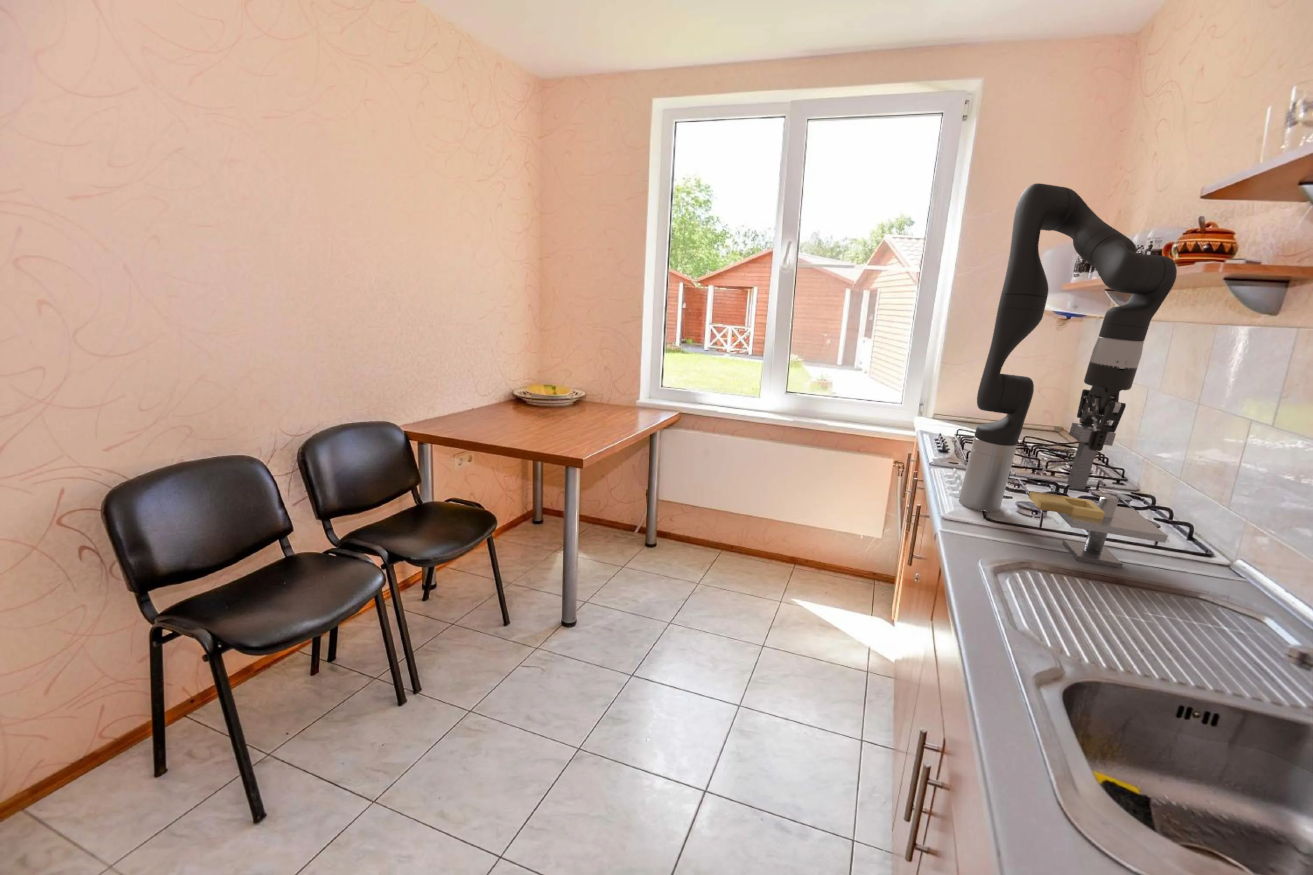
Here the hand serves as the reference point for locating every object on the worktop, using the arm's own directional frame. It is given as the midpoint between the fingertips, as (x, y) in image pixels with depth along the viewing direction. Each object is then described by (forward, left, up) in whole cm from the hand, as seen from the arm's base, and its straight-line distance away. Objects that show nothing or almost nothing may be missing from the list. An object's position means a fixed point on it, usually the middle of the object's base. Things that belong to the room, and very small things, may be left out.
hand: (1088, 445), depth 117 cm
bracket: (-1, -1, -14) cm, 14 cm away
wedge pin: (0, 0, -9) cm, 9 cm away
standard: (-1, +7, -23) cm, 24 cm away
